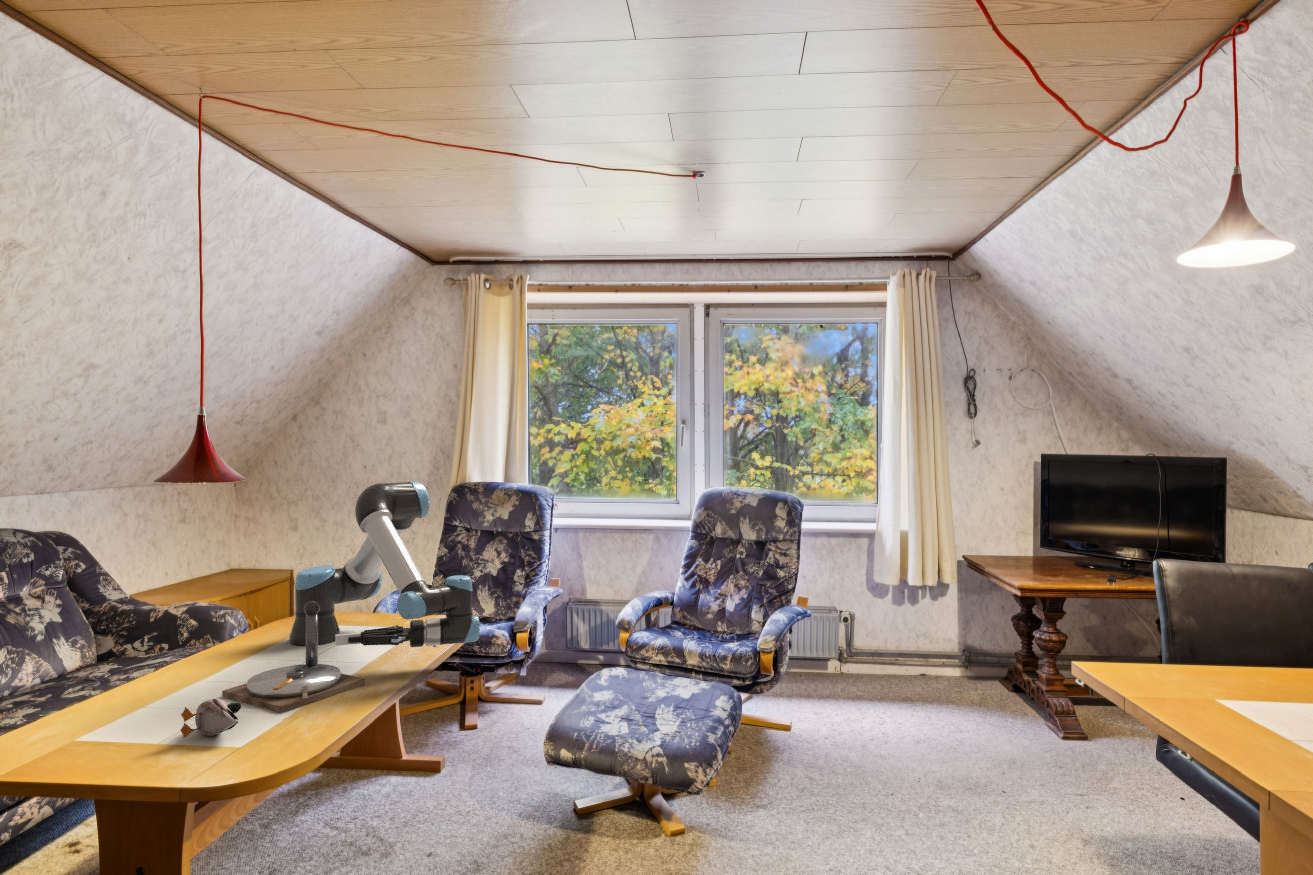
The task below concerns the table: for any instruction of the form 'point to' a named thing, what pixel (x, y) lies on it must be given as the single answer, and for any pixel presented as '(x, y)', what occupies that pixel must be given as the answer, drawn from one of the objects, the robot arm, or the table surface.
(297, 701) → the walnut stand board
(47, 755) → the table surface
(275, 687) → the dial
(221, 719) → the decorative duck model
